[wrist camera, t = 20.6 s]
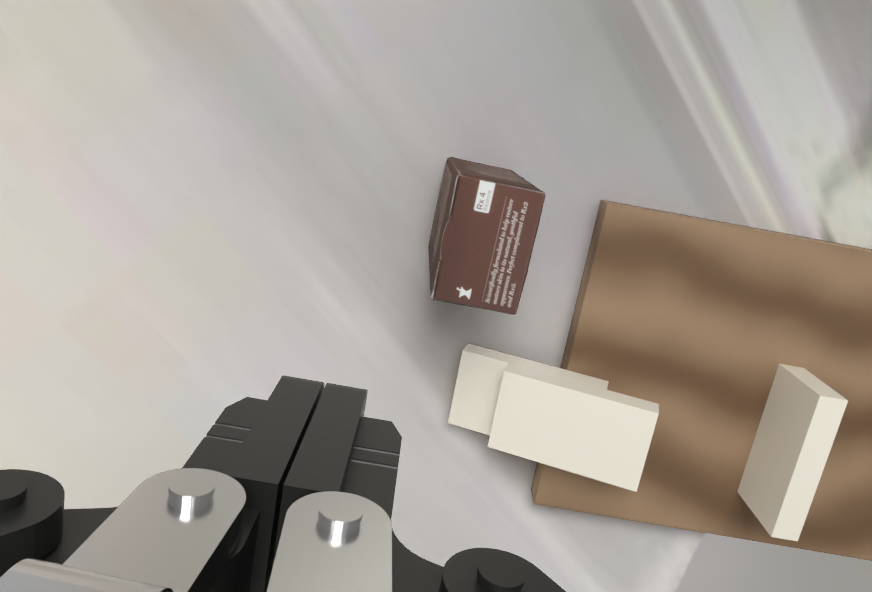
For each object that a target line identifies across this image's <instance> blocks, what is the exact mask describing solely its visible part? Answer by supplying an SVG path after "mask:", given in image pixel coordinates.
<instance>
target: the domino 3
mask: <svg viewBox="0 0 872 592" xmlns="http://www.w3.org/2000/svg"><path fill="white" fill-rule="evenodd" d="M847 403H848V400H847V399H845V398H844V397H843V396H841V395H840V394H839V393H837V392H836V391H835V390H833V389H832V388H831V387H829V386H828V385H826V384H825V383H824V382H822V381H821V380H820V379H818V378H817V377H816V376H814V375H813V374H812V373H810V372H809V371H808V370H806V369H805V368H801V367H796V366H790V365H784V364H779V365H778V368H777V372H776V375H775V378H774V381H773V384H772V387H771V390H770V393H769V396H768V399H767V402H766V405H765V408H764V411H763V414H762V417H761V421H760V424H759V427H758V430H757V433H756V436H755V439H754V442H753V445H752V448H751V451H750V454H749V457H748V460H747V463H746V466H745V470H744V473H743V476H742V479H741V482H740V485H739V488H738V491H737V492H738V493H739V495H740V496H741V497H742V499H743V500H744V501H745V503H746V504H747V505H748V507H749V508H750V509H751V511H752V512H753V513H754V515H755V516H756V517H757V519H758V520H759V521H760V523H761V524H762V525H763V527H764V528H765V529H766V531H767V532H768V533H769V535H770V536H771V537H774V538H780V539H786V540H792V541H798V539H799V536H800V534H801V531H802V528H803V525H804V523H805V520H806V517H807V514H808V511H809V509H810V506H811V503H812V500H813V497H814V495H815V492H816V489H817V486H818V484H819V481H820V478H821V475H822V472H823V470H824V467H825V464H826V461H827V458H828V456H829V453H830V450H831V447H832V445H833V442H834V439H835V436H836V433H837V431H838V428H839V425H840V422H841V419H842V417H843V414H844V411H845V408H846V406H847Z"/></svg>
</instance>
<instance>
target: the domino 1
mask: <svg viewBox="0 0 872 592" xmlns="http://www.w3.org/2000/svg"><path fill="white" fill-rule="evenodd" d="M509 363H511V364H514V365H518V366H522V367H525V368H529V369H533V370H536V371H540V372H544V373H547V374H551V375H555V376H558V377H562V378H566V379H569V380H573V381H577V382H580V383H584V384H588V385H591V386H595V387H599V388H602V389H606V390H607V387H608V383H609V381H606V380H602V379H599V378H595V377H591V376H587V375H584V374H580V373H576V372H573V371H569V370H565V369H561V368H558V367H554V366H550V365H547V364H543V363H539V362H536V361H532V360H528V359H524V358H521V357H517V356H513V355H510V354H506V353H502V352H499V351H495V350H491V349H487V348H484V347H480V346H476V345H473V344H468V345H467V346H466V347H465V348H464V349H463V350H462V355H461V360H460V365H459V370H458V375H457V380H456V385H455V390H454V395H453V400H452V405H451V410H450V415H449V420H448V423H450V424H453V425H456V426H460V427H463V428H466V429H470V430H473V431H476V432H480V433H483V434H486V435H490V433H491V428H492V424H493V419H494V414H495V410H496V405H497V401H498V396H499V392H500V387H501V382H502V378H503V373H504V370H505V369H506V367H507V366H508V364H509Z"/></svg>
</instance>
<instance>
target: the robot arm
mask: <svg viewBox="0 0 872 592" xmlns="http://www.w3.org/2000/svg"><path fill="white" fill-rule="evenodd" d="M366 398H367V390H365V389H359V388H353V387H347V386H342V385H336V384H330V383H327V384H326V386H325V388H324V383H323V382H318V381H312V380H306V379H300V378H294V377H289V376H282V377H281V379H280V381H279V382H278V384H277V386H276V387H275V389H274V391H273V392H272V394H271V396H270V397H269V399H268V401H267V400H261V399H255V398H250V397H246V398H244V399H242V400H240V401H238V402H236V403H234V404H232V405H230V406H228V407H226V408H225V410H224V411H223V412H222V414H221V415H220V416H219V418H218V419H217V421H216V422H215V425H213V426H212V428H211V429H210V430H209V432H208V433H207V436H206V437H204V439H203V440H202V441H201V443H200V444H199V446H198V447H197V448H196V450H195V451H194V452H193V454H192V455H191V457H190V458H189V459H188V461H187V462H186V464H185V465H184V466H183V468H182V469H175V470H170V471H165V472H162V473H159V474H156V475H154V476H152V477H150V478H148V479H147V480H145V481H144V482H143V483H141V484H140V485H139V486H138V487H137V488H136V489H135V490H134V491H133V492H132V493H131V494H130V495H129V496H128V497H127V498H126V499H125V501H124V502H123V503H122V504H121V505H120V506H119V507H114V508H95V509H64V489H63V487H62V485H61V484H60V483H59V482H58V481H57V480H55V479H54V478H52V477H50V476H48V475H45V474H42V473H39V472H34V471H29V470H14V469H8V470H0V592H566V591H564V590H563V589H562V588H561V587H560V586H559V585H557V584H556V583H555V582H554V581H553V580H551V579H550V578H549V577H548V576H547V575H546V574H544V573H543V572H542V571H541V570H540V569H538V568H537V567H536V566H534V565H533V564H532V563H530V562H528V561H527V560H525V559H523V558H521V557H519V556H517V555H515V554H512V553H509V552H506V551H502V550H497V549H490V548H473V549H468V550H464V551H461V552H459V553H456V554H455V555H453V556H452V557H451V558H450V559H449V560H448V561H447V562H446V564H445V566H444V567H442V566H439V565H437V564H434V563H432V562H429V561H427V560H425V559H423V558H421V557H419V556H417V555H416V554H414V553H412V552H411V551H410V550H408V549H407V548H406V547H405V546H404V545H403V544H402V543H400V541H399V540H398V539H397V537H396V536H395V534H394V532H393V530H392V524H391V515H392V508H393V500H394V493H395V485H396V477H397V470H398V462H399V454H400V447H401V439H402V437H401V435H400V434H399V432H398V431H397V429H396V428H395V426H394V424H393V423H392V422H391V421H385V420H379V419H373V418H367V417H363V416H364V411H365V404H366Z"/></svg>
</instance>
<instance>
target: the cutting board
mask: <svg viewBox="0 0 872 592" xmlns="http://www.w3.org/2000/svg"><path fill="white" fill-rule="evenodd" d="M779 364H784V365H790V366H796V367H801V368H805V369H806V370H808V371H809V372H810V373H812V374H813V375H814V376H816V377H817V378H818V379H820V380H821V381H822V382H824V383H825V384H826V385H828V386H829V387H831V388H832V389H833V390H835V391H836V392H837V393H839V394H840V395H841V396H843V397H844V398H845V399H847V400H848V403H847V406H846V408H845V411H844V414H843V417H842V419H841V422H840V425H839V428H838V431H837V433H836V436H835V439H834V442H833V445H832V447H831V450H830V453H829V456H828V458H827V461H826V464H825V467H824V470H823V472H822V475H821V478H820V481H819V484H818V486H817V489H816V492H815V495H814V497H813V500H812V503H811V506H810V509H809V511H808V514H807V517H806V520H805V523H804V525H803V528H802V531H801V534H800V536H799V539H798V541H792V540H786V539H780V538H774V537H771V536H770V535H769V533H768V532H767V531H766V529H765V528H764V527H763V525H762V524H761V523H760V521H759V520H758V519H757V517H756V516H755V515H754V513H753V512H752V511H751V509H750V508H749V507H748V505H747V504H746V503H745V501H744V500H743V499H742V497H741V496H740V495H739V493H738V492H737V491H738V488H739V485H740V482H741V479H742V476H743V473H744V470H745V466H746V463H747V460H748V457H749V454H750V451H751V448H752V445H753V442H754V439H755V436H756V433H757V430H758V427H759V424H760V421H761V417H762V414H763V411H764V408H765V405H766V402H767V399H768V396H769V393H770V390H771V387H772V384H773V381H774V378H775V375H776V372H777V368H778V365H779ZM561 369H565V370H569V371H573V372H576V373H580V374H584V375H587V376H591V377H595V378H599V379H602V380H606V381H609V383H608V387H607V390H610V391H613V392H617V393H621V394H624V395H628V396H632V397H635V398H639V399H643V400H646V401H650V402H654V403H658V404H659V415H658V418H657V422H656V425H655V429H654V432H653V436H652V439H651V443H650V446H649V450H648V454H647V457H646V461H645V464H644V468H643V471H642V475H641V478H640V482H639V485H638V489H637V492H635V491H631V490H628V489H625V488H622V487H618V486H615V485H612V484H608V483H605V482H602V481H598V480H595V479H592V478H589V477H585V476H582V475H579V474H575V473H572V472H569V471H566V470H562V469H559V468H556V467H552V466H549V465H546V464H542V463H539V462H538V463H537V467H536V471H535V476H534V480H533V484H532V488H531V491H532V496H533V500H534V504H538V505H544V506H550V507H556V508H562V509H568V510H574V511H580V512H586V513H592V514H598V515H604V516H610V517H616V518H622V519H628V520H634V521H639V522H645V523H651V524H657V525H663V526H669V527H675V528H681V529H687V530H693V531H699V532H705V533H711V534H717V535H723V536H729V537H735V538H741V539H747V540H752V541H759V542H765V543H771V544H776V545H783V546H788V547H794V548H800V549H806V550H812V551H818V552H824V553H830V554H836V555H842V556H848V557H854V558H859V559H866V560H871V561H872V249H867V248H861V247H856V246H850V245H845V244H839V243H834V242H828V241H823V240H817V239H812V238H807V237H801V236H796V235H790V234H785V233H779V232H774V231H768V230H763V229H758V228H752V227H747V226H741V225H736V224H730V223H725V222H719V221H714V220H709V219H703V218H698V217H692V216H687V215H681V214H676V213H670V212H665V211H659V210H654V209H649V208H643V207H638V206H632V205H627V204H621V203H616V202H610V201H605V200H601V202H600V206H599V210H598V214H597V218H596V222H595V227H594V231H593V235H592V239H591V243H590V247H589V251H588V256H587V260H586V264H585V268H584V272H583V276H582V280H581V285H580V289H579V293H578V297H577V301H576V305H575V310H574V314H573V318H572V322H571V326H570V330H569V334H568V339H567V343H566V347H565V351H564V355H563V359H562V364H561Z"/></svg>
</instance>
